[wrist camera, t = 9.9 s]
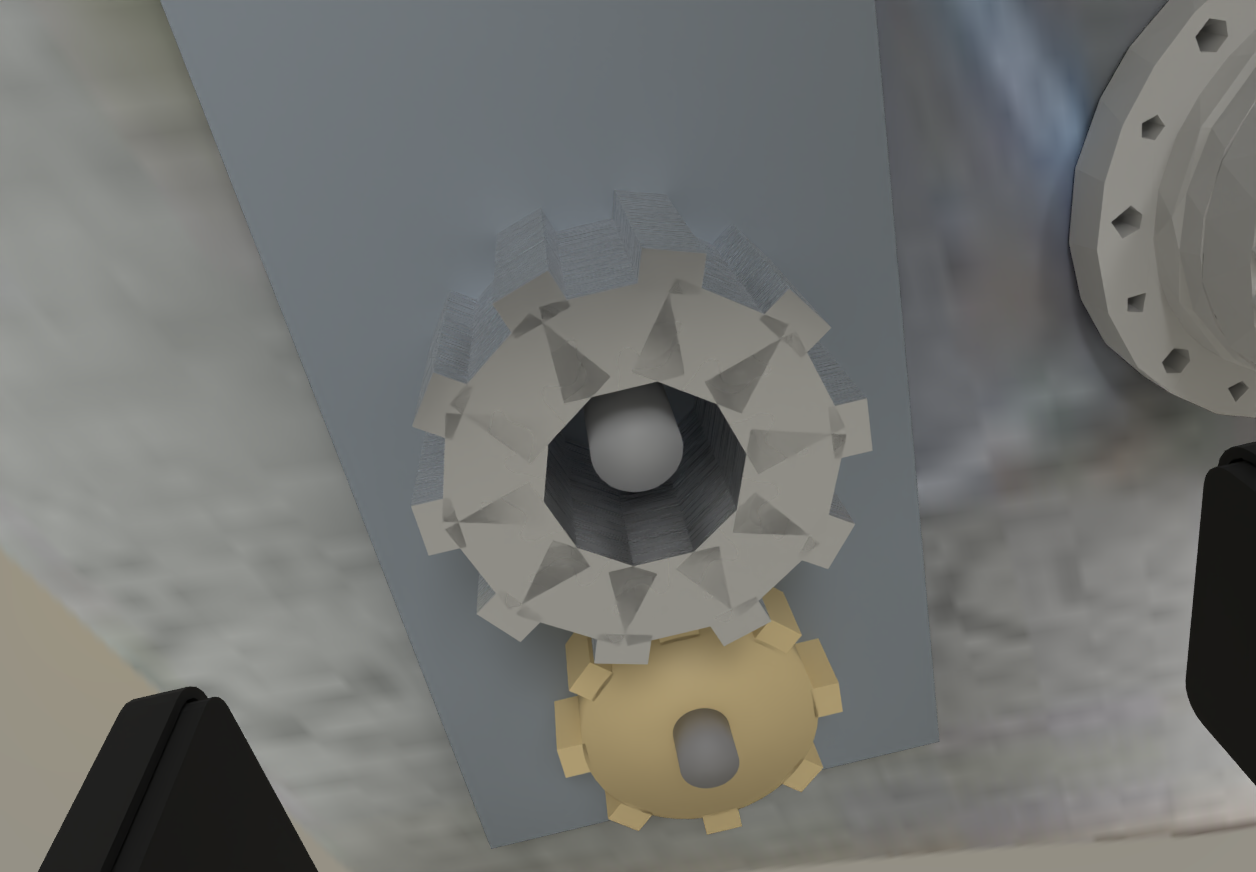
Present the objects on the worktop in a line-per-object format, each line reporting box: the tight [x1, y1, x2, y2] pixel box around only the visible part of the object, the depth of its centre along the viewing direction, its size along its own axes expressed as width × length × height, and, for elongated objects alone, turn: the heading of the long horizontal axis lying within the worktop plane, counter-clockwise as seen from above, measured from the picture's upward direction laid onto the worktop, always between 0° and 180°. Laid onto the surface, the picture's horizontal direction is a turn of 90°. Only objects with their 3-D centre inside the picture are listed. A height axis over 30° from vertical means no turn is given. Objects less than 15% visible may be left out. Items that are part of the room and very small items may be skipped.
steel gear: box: [411, 190, 873, 664], centre depth 16 cm, size 7×7×4 cm
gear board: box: [160, 0, 939, 849], centre depth 17 cm, size 25×11×4 cm, turn 12°
